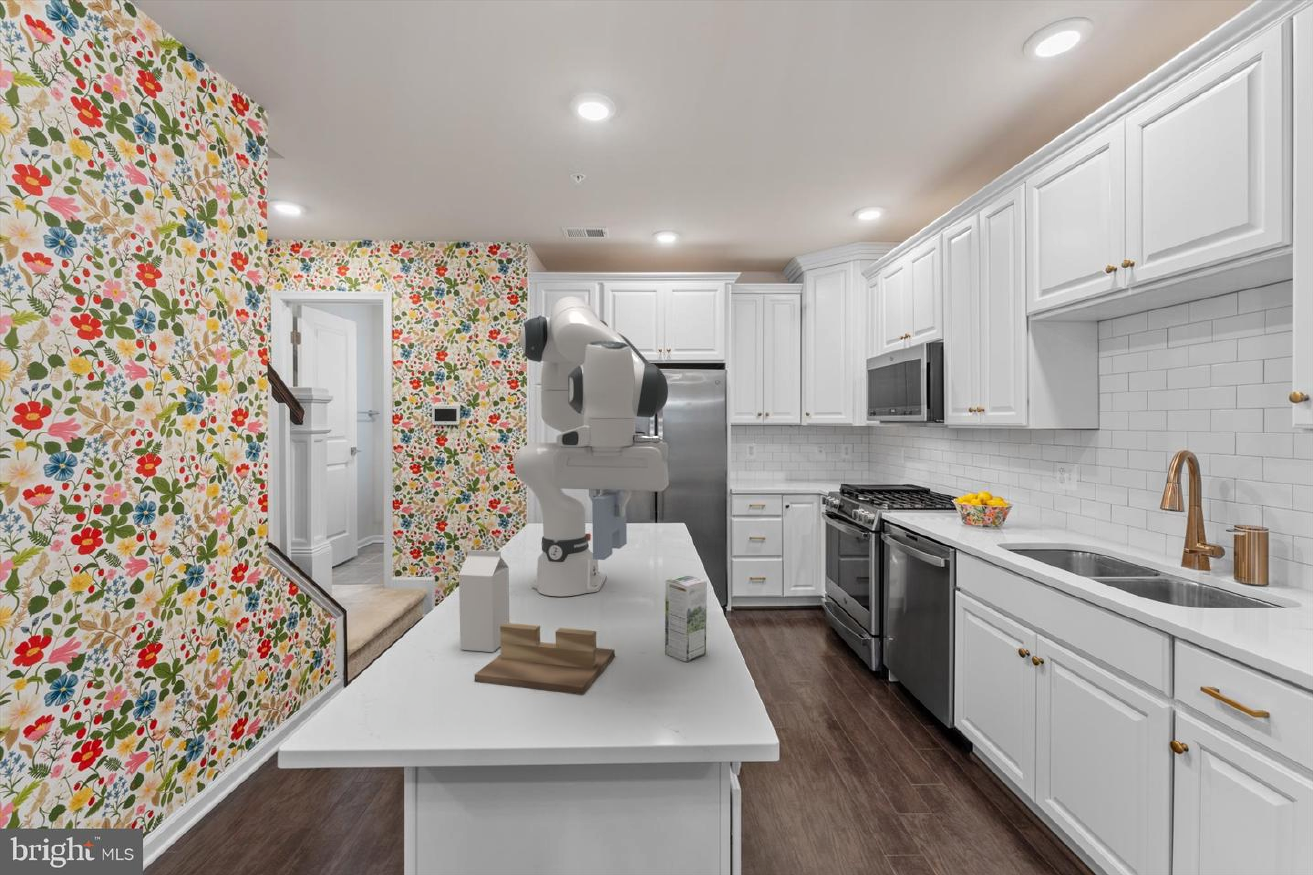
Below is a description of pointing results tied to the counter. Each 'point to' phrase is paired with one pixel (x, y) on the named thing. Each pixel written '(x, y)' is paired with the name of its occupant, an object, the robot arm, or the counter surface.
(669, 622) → the syrup box
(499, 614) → the milk carton
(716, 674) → the counter surface
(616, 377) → the robot arm
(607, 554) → the slotted plate
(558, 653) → the rail stand
